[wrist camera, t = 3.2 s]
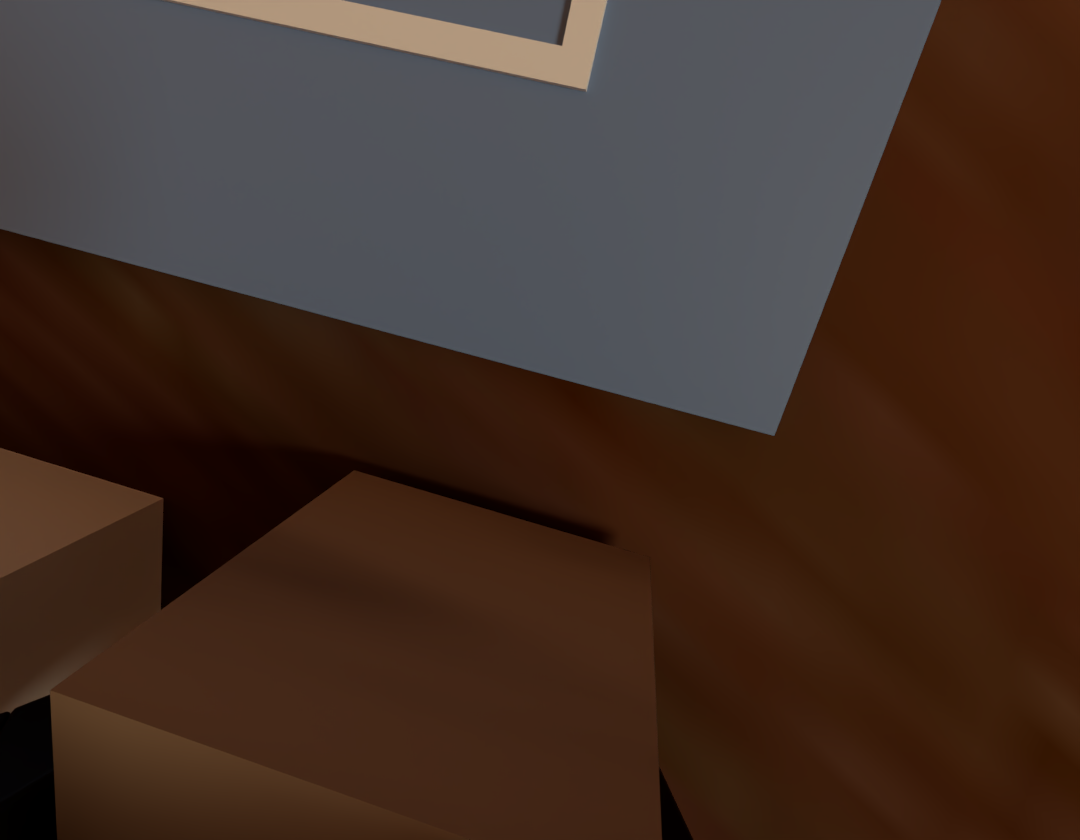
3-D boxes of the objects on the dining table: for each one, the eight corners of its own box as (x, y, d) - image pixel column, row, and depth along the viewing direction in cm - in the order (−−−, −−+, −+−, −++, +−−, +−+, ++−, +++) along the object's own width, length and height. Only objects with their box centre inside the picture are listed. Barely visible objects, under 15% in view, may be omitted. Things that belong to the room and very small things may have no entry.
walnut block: (572, 789, 10) (515, 1247, 5) (321, 704, 11) (67, 1056, 6) (649, 556, 9) (665, 909, 4) (354, 470, 9) (49, 689, 4)
